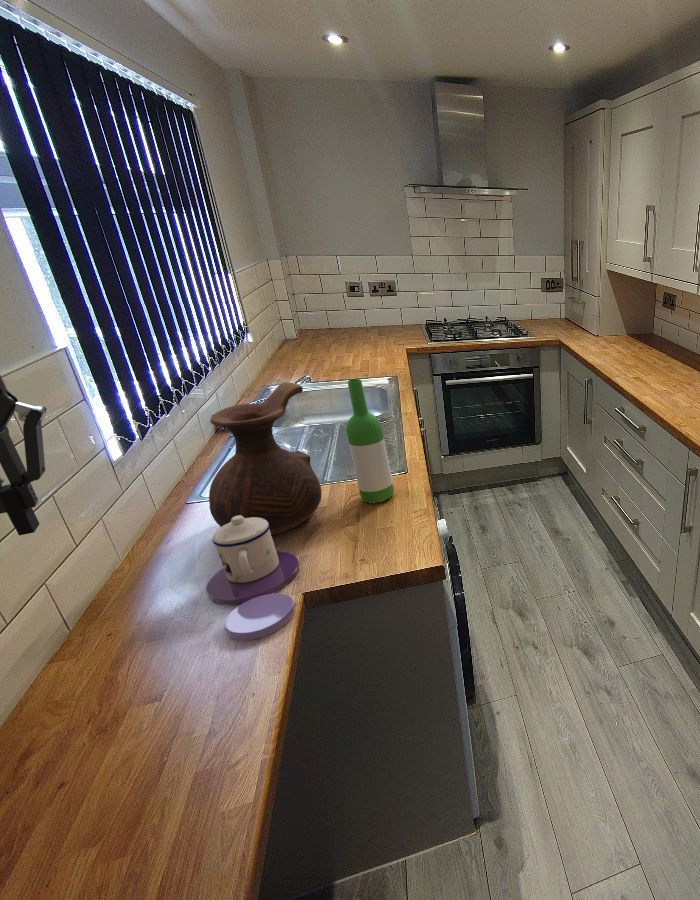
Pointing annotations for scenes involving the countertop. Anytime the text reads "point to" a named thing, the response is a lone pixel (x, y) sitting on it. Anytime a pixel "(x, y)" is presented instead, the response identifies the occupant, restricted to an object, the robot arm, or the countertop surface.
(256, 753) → the countertop surface
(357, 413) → the wine bottle
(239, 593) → the saucer
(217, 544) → the teacup with lid
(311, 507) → the jug
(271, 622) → the lilac dish
